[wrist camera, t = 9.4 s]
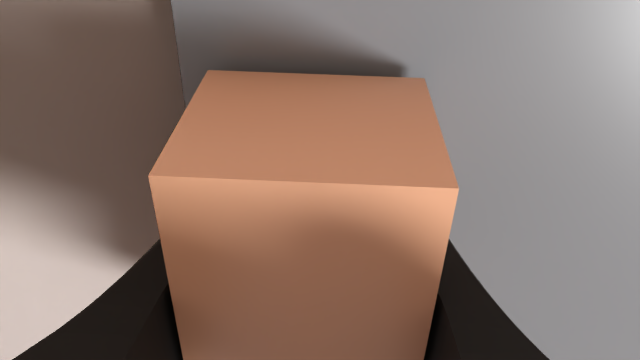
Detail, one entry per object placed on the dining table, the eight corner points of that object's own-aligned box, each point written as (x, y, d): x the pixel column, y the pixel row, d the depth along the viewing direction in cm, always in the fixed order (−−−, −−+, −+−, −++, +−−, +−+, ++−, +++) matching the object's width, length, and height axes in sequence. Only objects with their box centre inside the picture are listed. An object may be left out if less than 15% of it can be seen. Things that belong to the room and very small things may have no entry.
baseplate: (244, 504, 24) (240, 531, 24) (179, -50, 11) (163, -39, 10) (637, 527, 24) (649, 554, 23) (1066, -21, 11) (1134, -7, 10)
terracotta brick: (234, 328, 15) (203, 465, 12) (207, 70, 11) (148, 175, 8) (388, 335, 15) (399, 476, 12) (424, 78, 11) (459, 188, 8)
